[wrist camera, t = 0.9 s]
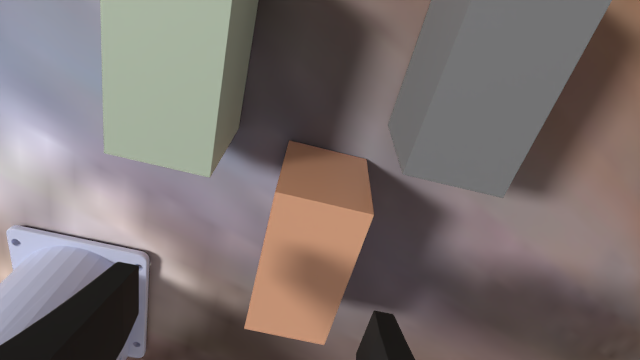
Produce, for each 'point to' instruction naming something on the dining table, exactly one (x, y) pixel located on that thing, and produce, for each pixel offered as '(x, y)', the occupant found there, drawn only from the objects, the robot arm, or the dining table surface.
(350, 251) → the terracotta block
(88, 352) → the robot arm
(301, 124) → the dining table surface
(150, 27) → the sage block
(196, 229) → the dining table surface
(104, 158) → the dining table surface
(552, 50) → the charcoal block
